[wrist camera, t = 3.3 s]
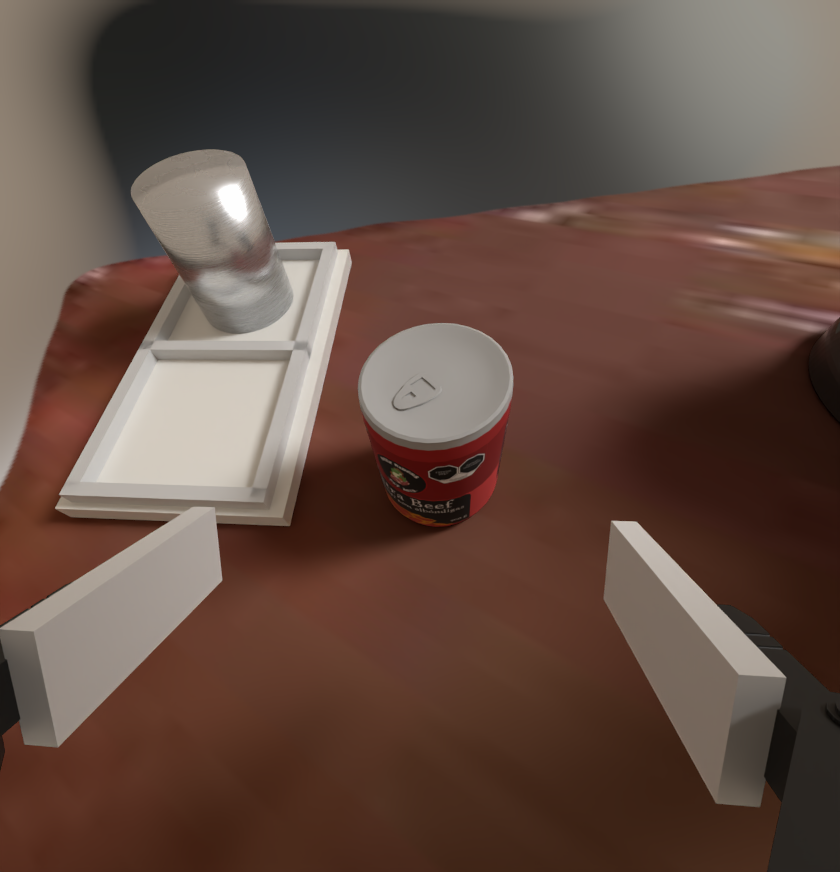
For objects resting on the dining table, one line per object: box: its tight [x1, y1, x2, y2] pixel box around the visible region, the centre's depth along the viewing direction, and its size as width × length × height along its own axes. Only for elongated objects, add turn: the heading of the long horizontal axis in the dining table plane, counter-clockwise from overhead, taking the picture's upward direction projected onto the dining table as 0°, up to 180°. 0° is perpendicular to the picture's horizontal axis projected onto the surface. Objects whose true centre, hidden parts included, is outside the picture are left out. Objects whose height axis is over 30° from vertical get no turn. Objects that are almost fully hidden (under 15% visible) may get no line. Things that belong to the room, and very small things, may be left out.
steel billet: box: [131, 150, 293, 334], centre depth 36 cm, size 8×8×11 cm
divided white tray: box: [55, 242, 352, 526], centre depth 37 cm, size 16×28×3 cm, turn 176°
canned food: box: [358, 323, 513, 527], centre depth 27 cm, size 8×8×11 cm
